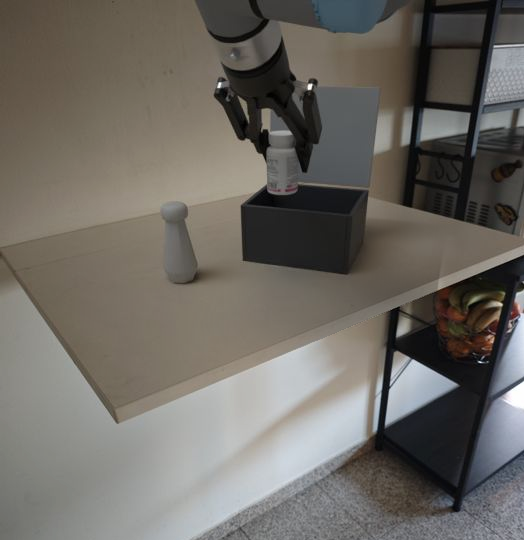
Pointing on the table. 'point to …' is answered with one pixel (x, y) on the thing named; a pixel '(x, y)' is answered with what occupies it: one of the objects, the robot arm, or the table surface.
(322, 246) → the box
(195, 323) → the table surface
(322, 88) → the grey box lid
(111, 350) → the table surface
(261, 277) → the table surface
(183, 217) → the salt shaker
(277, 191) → the pill bottle
